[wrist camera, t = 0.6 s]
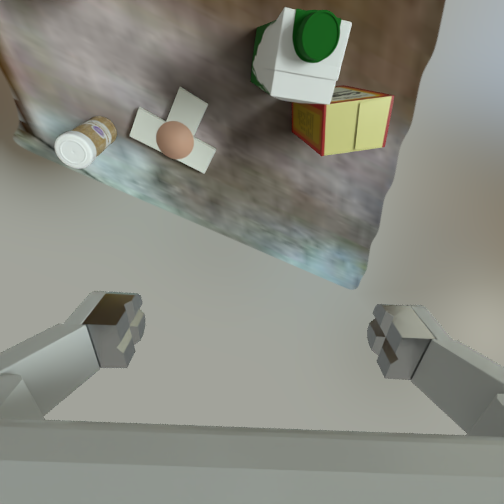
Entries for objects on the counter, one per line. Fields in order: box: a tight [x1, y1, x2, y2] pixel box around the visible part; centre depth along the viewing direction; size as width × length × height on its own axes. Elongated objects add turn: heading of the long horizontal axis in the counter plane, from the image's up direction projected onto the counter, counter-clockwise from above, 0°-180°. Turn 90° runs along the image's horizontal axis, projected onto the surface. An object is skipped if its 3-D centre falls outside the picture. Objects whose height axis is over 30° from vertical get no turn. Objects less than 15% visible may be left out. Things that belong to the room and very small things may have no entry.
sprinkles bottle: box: [54, 116, 117, 169], centre depth 41 cm, size 5×5×14 cm
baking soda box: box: [292, 86, 394, 156], centre depth 44 cm, size 10×6×16 cm
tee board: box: [130, 87, 216, 173], centre depth 48 cm, size 11×14×1 cm
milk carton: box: [251, 7, 352, 105], centre depth 37 cm, size 9×9×20 cm
